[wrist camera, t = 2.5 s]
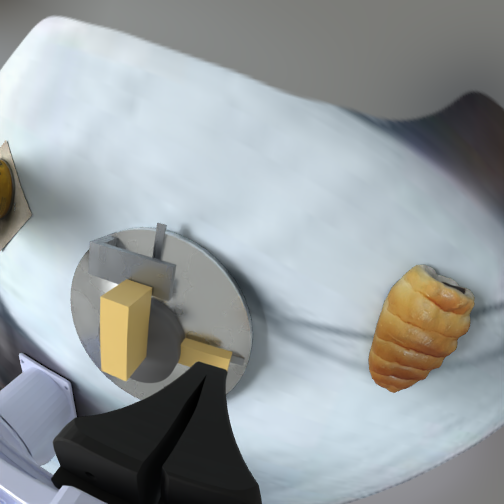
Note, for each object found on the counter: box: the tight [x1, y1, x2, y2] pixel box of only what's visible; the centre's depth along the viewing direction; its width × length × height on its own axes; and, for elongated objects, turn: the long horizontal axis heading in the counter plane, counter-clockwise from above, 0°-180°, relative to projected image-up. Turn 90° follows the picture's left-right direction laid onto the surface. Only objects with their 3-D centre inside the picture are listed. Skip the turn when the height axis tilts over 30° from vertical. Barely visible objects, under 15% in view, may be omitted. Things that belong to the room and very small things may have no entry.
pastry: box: [369, 265, 474, 393], centre depth 18 cm, size 9×7×4 cm
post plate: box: [71, 223, 253, 400], centre depth 21 cm, size 16×15×3 cm
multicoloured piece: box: [98, 279, 232, 383], centre depth 18 cm, size 8×9×5 cm
